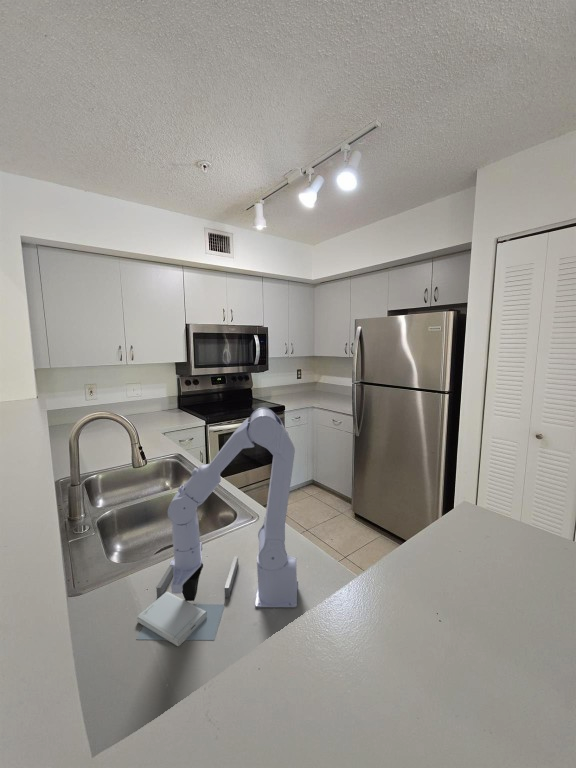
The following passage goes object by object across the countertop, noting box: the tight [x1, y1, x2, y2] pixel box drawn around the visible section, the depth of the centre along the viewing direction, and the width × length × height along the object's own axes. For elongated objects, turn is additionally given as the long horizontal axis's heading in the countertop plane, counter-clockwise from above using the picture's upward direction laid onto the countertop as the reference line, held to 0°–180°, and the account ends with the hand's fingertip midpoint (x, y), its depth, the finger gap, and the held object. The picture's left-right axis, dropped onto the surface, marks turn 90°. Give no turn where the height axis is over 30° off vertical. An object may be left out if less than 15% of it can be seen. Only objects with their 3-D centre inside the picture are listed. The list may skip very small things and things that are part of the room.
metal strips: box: [155, 555, 239, 599], centre depth 82 cm, size 17×12×2 cm
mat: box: [136, 603, 225, 641], centre depth 70 cm, size 16×9×1 cm, turn 88°
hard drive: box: [136, 591, 207, 647], centre depth 70 cm, size 2×8×12 cm
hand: (190, 598), depth 75 cm, fingers closed
